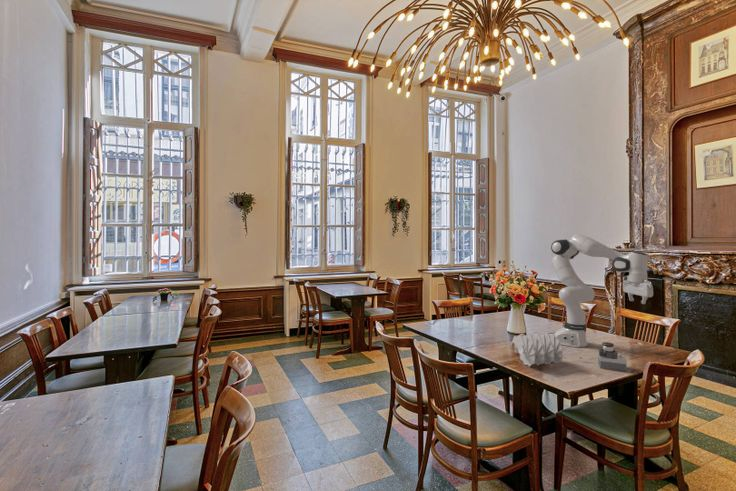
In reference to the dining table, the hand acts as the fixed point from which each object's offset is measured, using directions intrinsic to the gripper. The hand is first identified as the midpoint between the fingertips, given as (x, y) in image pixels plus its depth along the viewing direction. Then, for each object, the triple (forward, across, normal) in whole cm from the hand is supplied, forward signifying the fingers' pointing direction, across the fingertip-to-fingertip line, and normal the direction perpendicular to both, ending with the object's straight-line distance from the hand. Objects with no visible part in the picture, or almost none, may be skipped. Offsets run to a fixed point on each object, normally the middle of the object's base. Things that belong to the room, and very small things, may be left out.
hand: (637, 302), depth 225 cm
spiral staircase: (+34, -8, +62) cm, 71 cm away
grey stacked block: (+34, -13, +23) cm, 43 cm away
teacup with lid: (+34, +12, +64) cm, 74 cm away
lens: (+28, -12, +25) cm, 39 cm away
